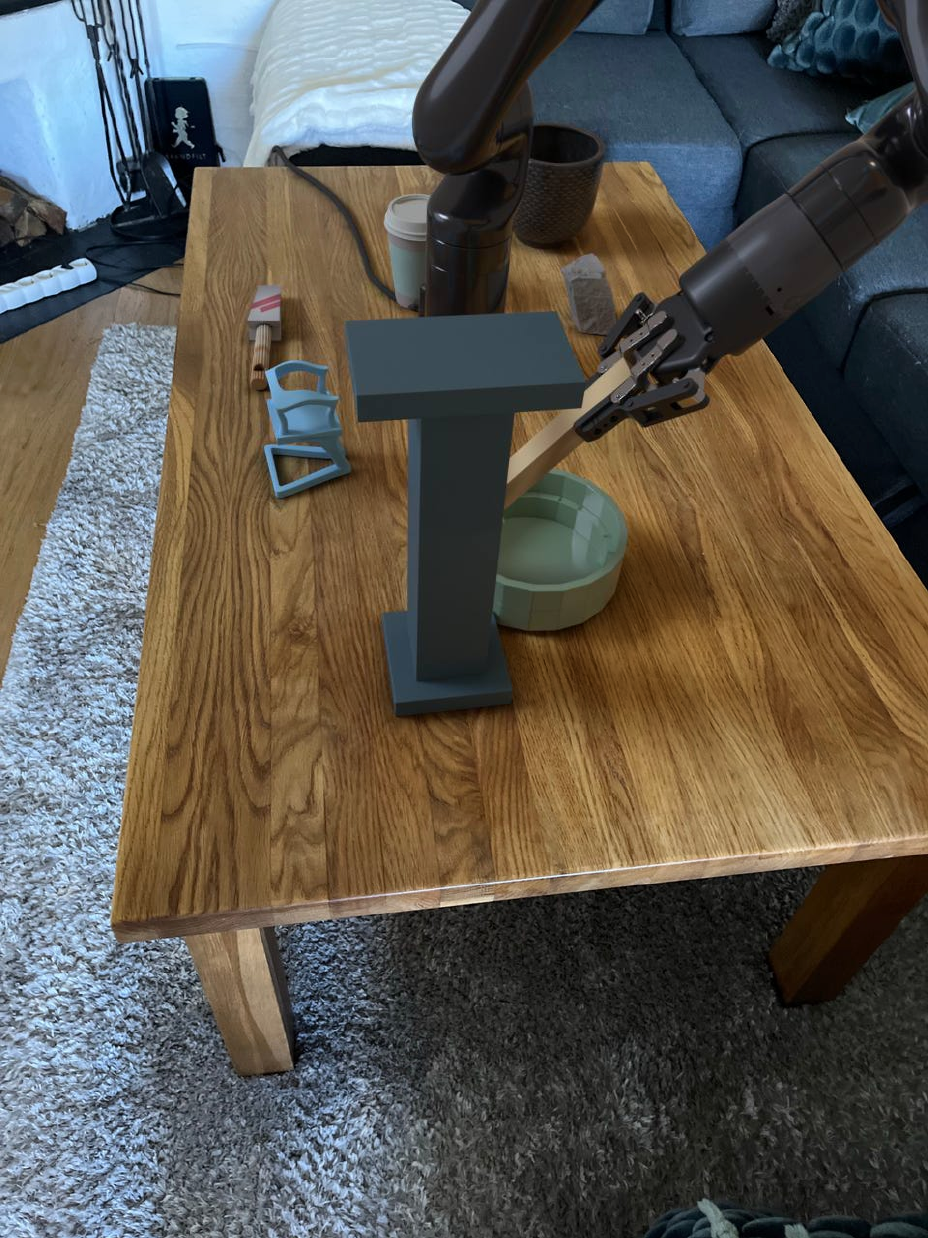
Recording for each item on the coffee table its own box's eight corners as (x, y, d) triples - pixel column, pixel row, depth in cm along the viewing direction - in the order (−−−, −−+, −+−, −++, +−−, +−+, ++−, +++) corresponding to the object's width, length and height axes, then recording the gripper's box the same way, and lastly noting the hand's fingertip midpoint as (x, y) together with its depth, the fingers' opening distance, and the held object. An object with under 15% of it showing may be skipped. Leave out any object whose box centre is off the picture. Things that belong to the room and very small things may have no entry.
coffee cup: (459, 289, 124) (464, 199, 114) (437, 322, 118) (440, 230, 109) (399, 275, 125) (399, 186, 116) (374, 307, 120) (372, 215, 111)
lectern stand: (371, 719, 78) (358, 405, 54) (360, 629, 85) (343, 311, 61) (533, 701, 81) (590, 391, 56) (510, 614, 87) (552, 302, 63)
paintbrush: (284, 274, 118) (273, 374, 106) (286, 294, 120) (275, 394, 108) (253, 274, 117) (238, 374, 105) (256, 293, 120) (241, 393, 107)
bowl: (411, 557, 91) (411, 511, 87) (536, 489, 98) (542, 444, 94) (525, 664, 83) (532, 620, 79) (651, 581, 91) (664, 537, 86)
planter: (594, 263, 130) (610, 168, 120) (494, 257, 129) (502, 162, 120) (587, 215, 139) (601, 123, 129) (494, 210, 139) (501, 117, 129)
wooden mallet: (457, 563, 82) (436, 552, 81) (447, 524, 86) (427, 513, 84) (652, 397, 72) (633, 380, 71) (633, 360, 75) (614, 343, 74)
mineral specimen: (595, 294, 123) (613, 243, 116) (619, 341, 120) (639, 292, 113) (544, 299, 121) (559, 248, 114) (567, 348, 118) (584, 298, 111)
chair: (355, 486, 97) (351, 390, 88) (275, 499, 95) (262, 402, 86) (340, 440, 102) (335, 344, 93) (264, 451, 100) (250, 355, 91)
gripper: (701, 198, 71) (528, 348, 78) (772, 294, 62) (569, 454, 69) (748, 261, 76) (580, 397, 83) (820, 359, 67) (624, 502, 74)
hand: (576, 422), depth 76 cm, fingers closed on wooden mallet, 2 cm apart
